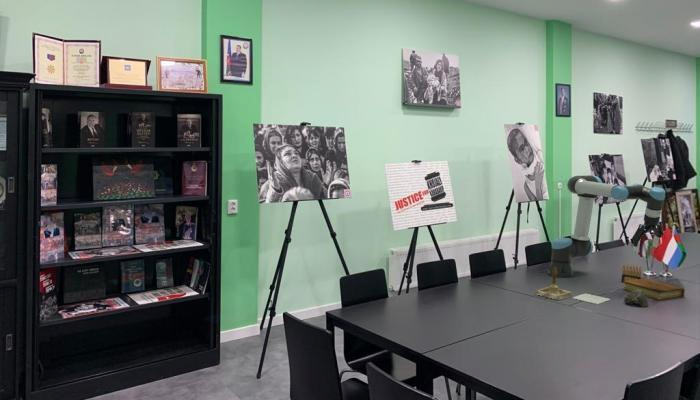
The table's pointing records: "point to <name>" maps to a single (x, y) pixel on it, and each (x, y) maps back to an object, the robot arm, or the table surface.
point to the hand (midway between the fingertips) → (645, 248)
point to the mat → (591, 299)
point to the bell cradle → (557, 297)
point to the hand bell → (554, 283)
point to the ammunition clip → (631, 273)
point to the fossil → (636, 298)
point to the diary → (654, 289)
